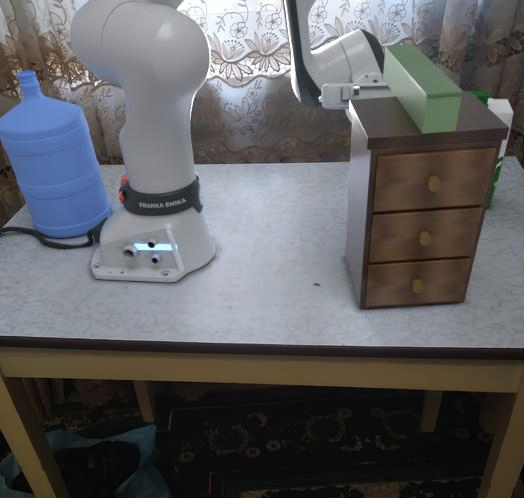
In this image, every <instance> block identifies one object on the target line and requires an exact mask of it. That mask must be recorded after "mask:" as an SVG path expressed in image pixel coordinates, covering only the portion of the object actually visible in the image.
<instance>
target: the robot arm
mask: <svg viewBox="0 0 524 498" xmlns="http://www.w3.org/2000/svg"><path fill="white" fill-rule="evenodd" d="M186 1H187V0H87V2H85V3H84V4H83V5H82V6H81V7H79V9H78V10H77V11H76V12H75V13H74V15H73V17H72V20H71V21H70V28H69V40H70V45H71V48H72V51H73V53H74V55H75V57H76V59H77V60H78V61H79V63H80V64H81V65H82V66H83V67H84V68H86V69H87V70H88V71H89V72H90V73H91V74H92V75H94V76H95V77H97V78H98V79H100V80H102V81H103V82H105V83H108V84H113V85H115V86H118V87H121V89H122V90H123V94H124V97H125V120H124V121H125V122H124V125H123V126H122V127H121V129H120V131H119V134H118V143H119V147H120V152H121V155H122V160H123V163H124V166H125V173H126V174H123V176H122V177H121V180H120V182H119V185H120V187H119V190H118V193H119V194H118V200H119V204H120V206H119V207H118V208H117V209H116V210H114V211H113V213H111V216H110V217H109V218H104V219H103V220H102V221H101V222H100V223H99V224H97V225H96V226H95V227H94V228H92V229H90V230H89V231H88V232H87V234H86V237H87V240H88V241H86V242H84V243H82V244H66V243H60V242H56V241H51V240H48V239H46V238H45V237H44V235H43V234H41V233H39V232H38V231H37V230H36V229H32V228H29V227H23V226H4V227H1V228H0V236H2V234H5V233H10V232H11V233H12V232H14V233H15V232H16V233H23V234H30V235H33V236H35V237H36V238H37V239H38V240H39V242H40V243H41V244H43V245H45V246H48V247H50V248H51V247H52V248H55V249H61V250H74V249H84V248H90V247H91V246H92V245H93V244H94V243H96V244H98V245H97V247H96V249H95V250H94V252H93V255H92V257H91V260H90V268H91V273H92V275H93V277H94V278H95V279H96V280H108V281H109V280H110V281H128V282H129V281H131V282H150V283H151V282H152V283H153V282H154V283H176V282H178V281H179V280H181V279H183V278H184V277H185V276H186V275H187V274H189V273H192V272H194V271H196V270H197V269H198V270H199V269H200V268H203V267H204V266H206V265H207V264H208V263H210V262H211V260H212V259H214V258H215V255H216V253H217V246H216V244H215V241H214V239H213V237H212V235H211V233H210V230H209V226H208V224H207V220H206V217H205V214H204V210H203V208H204V196H203V190H202V184H201V182H200V177H199V174H198V172H197V171H196V166H195V160H194V151H193V143H192V138H191V137H192V136H191V117H192V108H193V103H194V99H195V96H196V94H197V92H198V91H199V90H200V89H201V88H202V87H203V85H204V84H205V82H206V80H207V77H208V76H209V71H210V68H211V59H212V57H211V56H212V54H211V46H210V42H209V39H208V36H207V34H206V32H205V30H204V29H203V27H202V26H201V24H199V23H198V21H197V20H195V19H193V18H192V17H190V16H188V15H187V14H185V13H183V12H181V11H179V9H180V8H181V6H182V5H183V4H184V3H185V2H186ZM316 2H317V0H282V7H283V16H284V23H285V30H286V38H287V45H288V53H289V61H290V78H291V79H290V80H291V81H290V82H291V86H292V90H293V93H294V94H295V97H296V98H297V100H298V102H299V103H300V104H302V105H304V106H307V107H310V108H314V109H318V108H319V107H321V106H322V108H323V109H327V110H345V115H346V117H347V118H348V120H349V122H350V123H352V116H351V114H350V112H349V100H356V99H369V98H382V97H396V96H395V95H394V93H393V92H392V91H391V89H390V88H389V86H388V85H387V84H386V82H385V81H384V79H383V71H384V59H385V52H384V50H383V47H382V45H381V43H380V41H379V39H378V38H377V37H376V36H375V35H374V34H372V33H371V32H369V31H368V30H367V29H363V28H358V29H354V30H353V31H351V32H348V33H346V34H344V35H342V36H340V37H338V38H337V39H335V40H333V41H331V42H329V43H327V44H325V45H323V46H321V47H319V48H317V49H315V50H312V46H311V35H310V26H309V25H310V24H309V16H310V12H311V10H312V8H313V6H314V4H315V3H316ZM1 232H2V233H1Z"/></svg>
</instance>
